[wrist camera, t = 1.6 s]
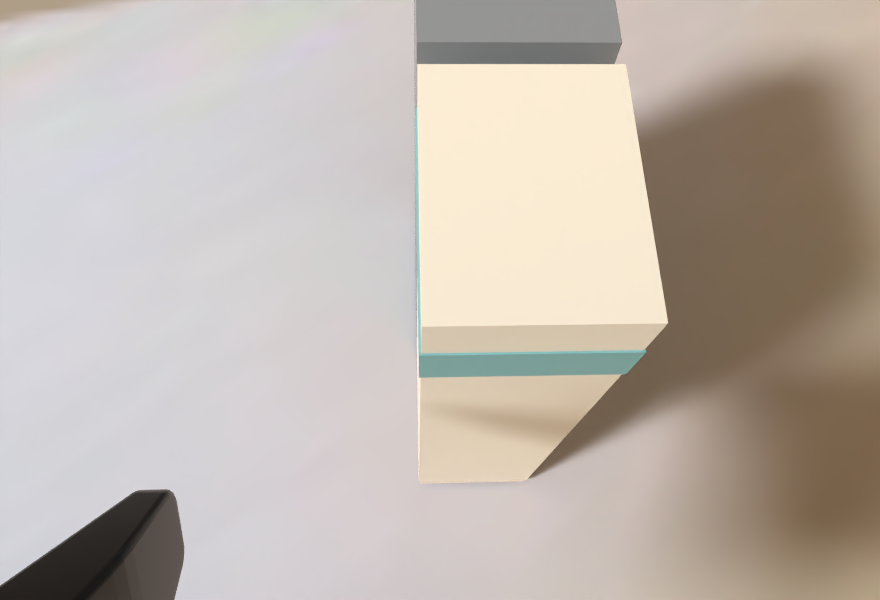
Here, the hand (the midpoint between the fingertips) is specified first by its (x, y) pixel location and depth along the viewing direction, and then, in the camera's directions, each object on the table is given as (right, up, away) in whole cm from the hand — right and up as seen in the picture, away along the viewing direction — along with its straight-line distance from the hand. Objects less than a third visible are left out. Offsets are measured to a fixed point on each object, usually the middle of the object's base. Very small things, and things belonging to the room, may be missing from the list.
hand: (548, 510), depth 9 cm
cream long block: (0, -1, +12) cm, 12 cm away
